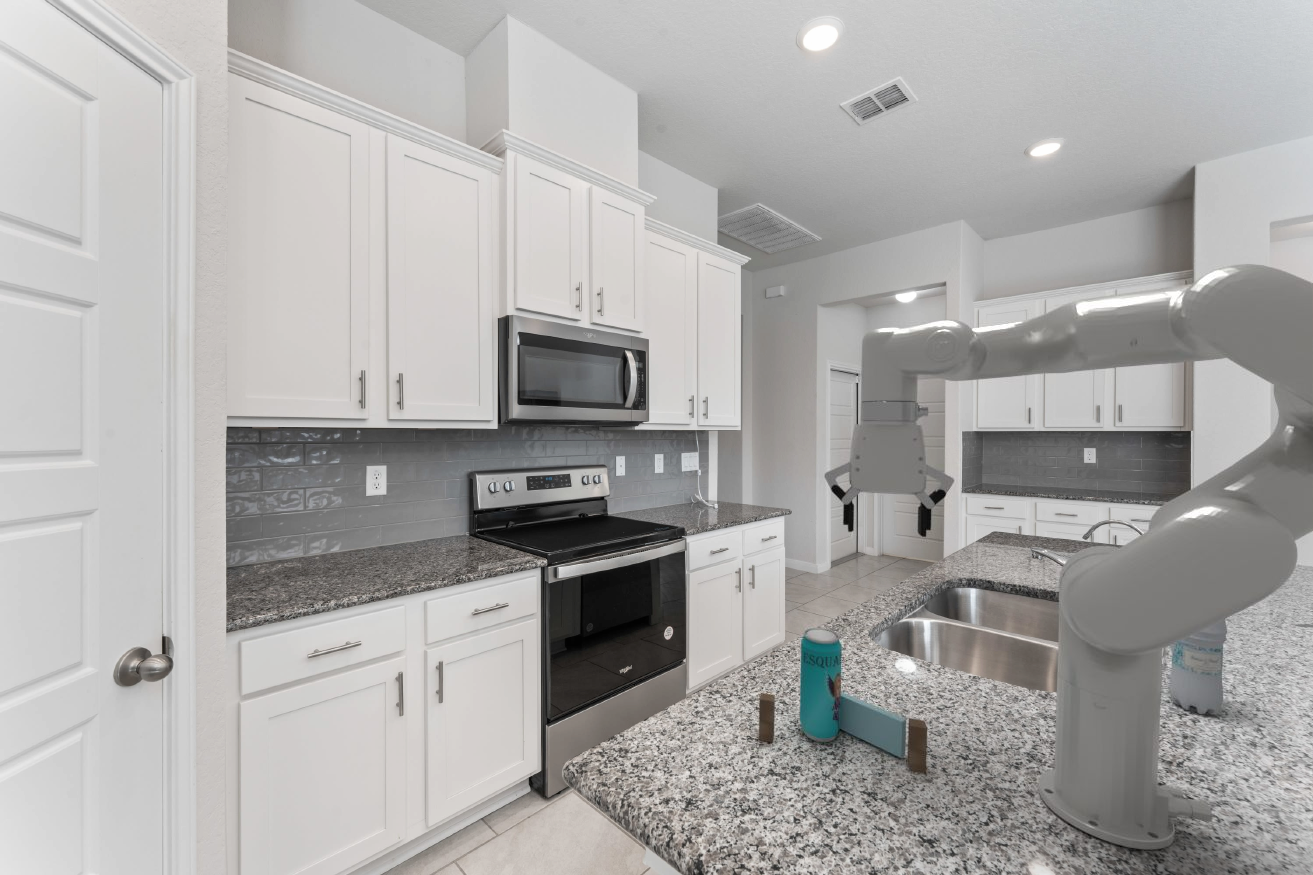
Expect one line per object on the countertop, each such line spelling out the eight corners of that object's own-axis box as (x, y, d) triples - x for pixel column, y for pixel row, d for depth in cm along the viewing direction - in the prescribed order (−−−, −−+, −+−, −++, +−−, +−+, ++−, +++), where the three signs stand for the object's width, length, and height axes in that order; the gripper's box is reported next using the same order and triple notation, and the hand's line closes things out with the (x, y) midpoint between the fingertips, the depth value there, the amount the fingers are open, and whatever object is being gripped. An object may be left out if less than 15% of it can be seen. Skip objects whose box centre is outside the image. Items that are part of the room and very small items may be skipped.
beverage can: (831, 749, 77) (833, 645, 77) (793, 735, 81) (794, 634, 80) (845, 731, 82) (847, 632, 81) (808, 718, 85) (810, 623, 85)
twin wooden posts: (923, 761, 75) (924, 718, 75) (926, 773, 72) (927, 728, 72) (760, 732, 81) (761, 692, 81) (758, 741, 79) (758, 700, 79)
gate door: (905, 754, 76) (906, 718, 76) (901, 757, 75) (902, 721, 75) (806, 707, 88) (807, 677, 88) (802, 710, 87) (802, 679, 87)
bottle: (1175, 712, 89) (1179, 589, 88) (1161, 694, 95) (1164, 579, 94) (1232, 722, 85) (1237, 595, 85) (1213, 703, 91) (1218, 584, 91)
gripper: (949, 415, 80) (946, 532, 81) (825, 415, 85) (823, 524, 86) (960, 415, 73) (957, 542, 74) (825, 414, 78) (823, 533, 79)
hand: (885, 532), depth 80 cm, fingers open, 9 cm apart
